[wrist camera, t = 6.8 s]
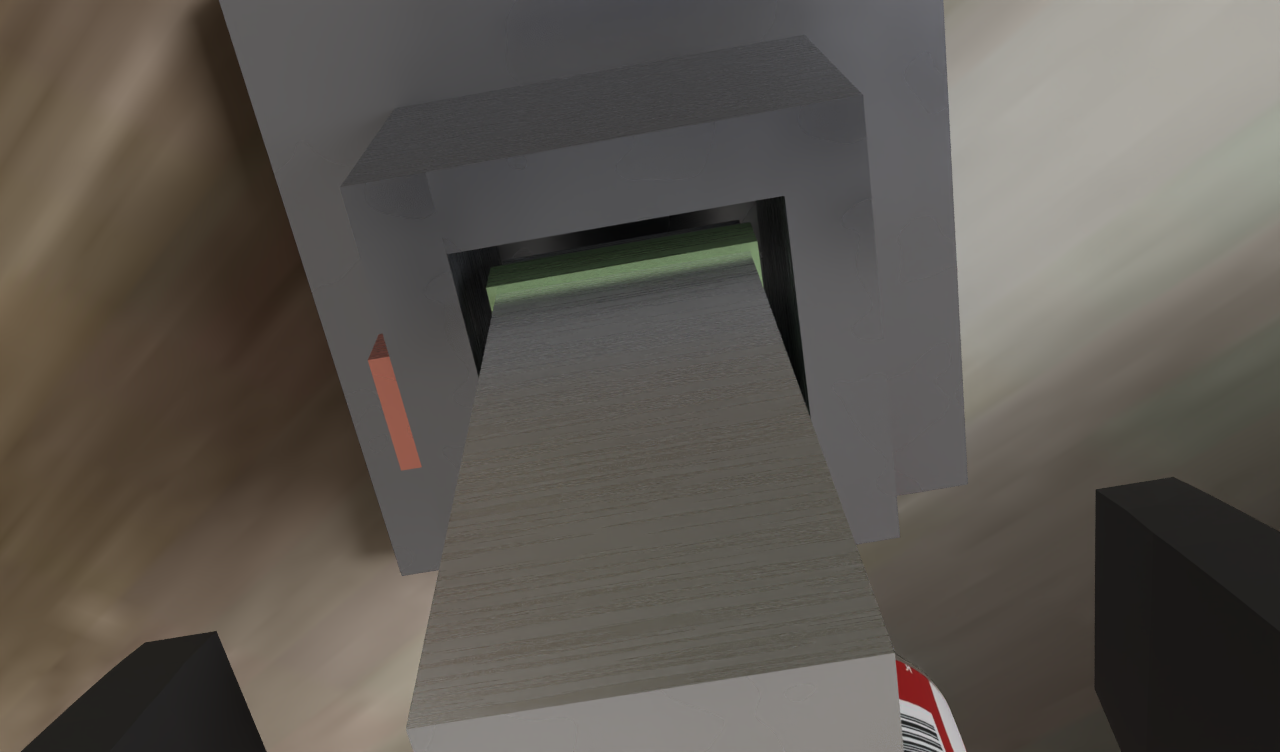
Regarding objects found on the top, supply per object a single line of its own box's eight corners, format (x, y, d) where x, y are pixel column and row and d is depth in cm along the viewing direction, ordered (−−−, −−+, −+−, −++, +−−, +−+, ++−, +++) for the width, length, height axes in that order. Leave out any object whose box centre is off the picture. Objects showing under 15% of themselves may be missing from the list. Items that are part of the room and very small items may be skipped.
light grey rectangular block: (746, 211, 14) (910, 636, 7) (775, 432, 16) (940, 989, 8) (493, 254, 14) (386, 720, 7) (545, 471, 16) (501, 1051, 8)
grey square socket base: (917, -144, 16) (1039, -131, 12) (951, 455, 21) (1050, 630, 16) (236, -19, 17) (104, 41, 12) (410, 544, 21) (360, 739, 17)
